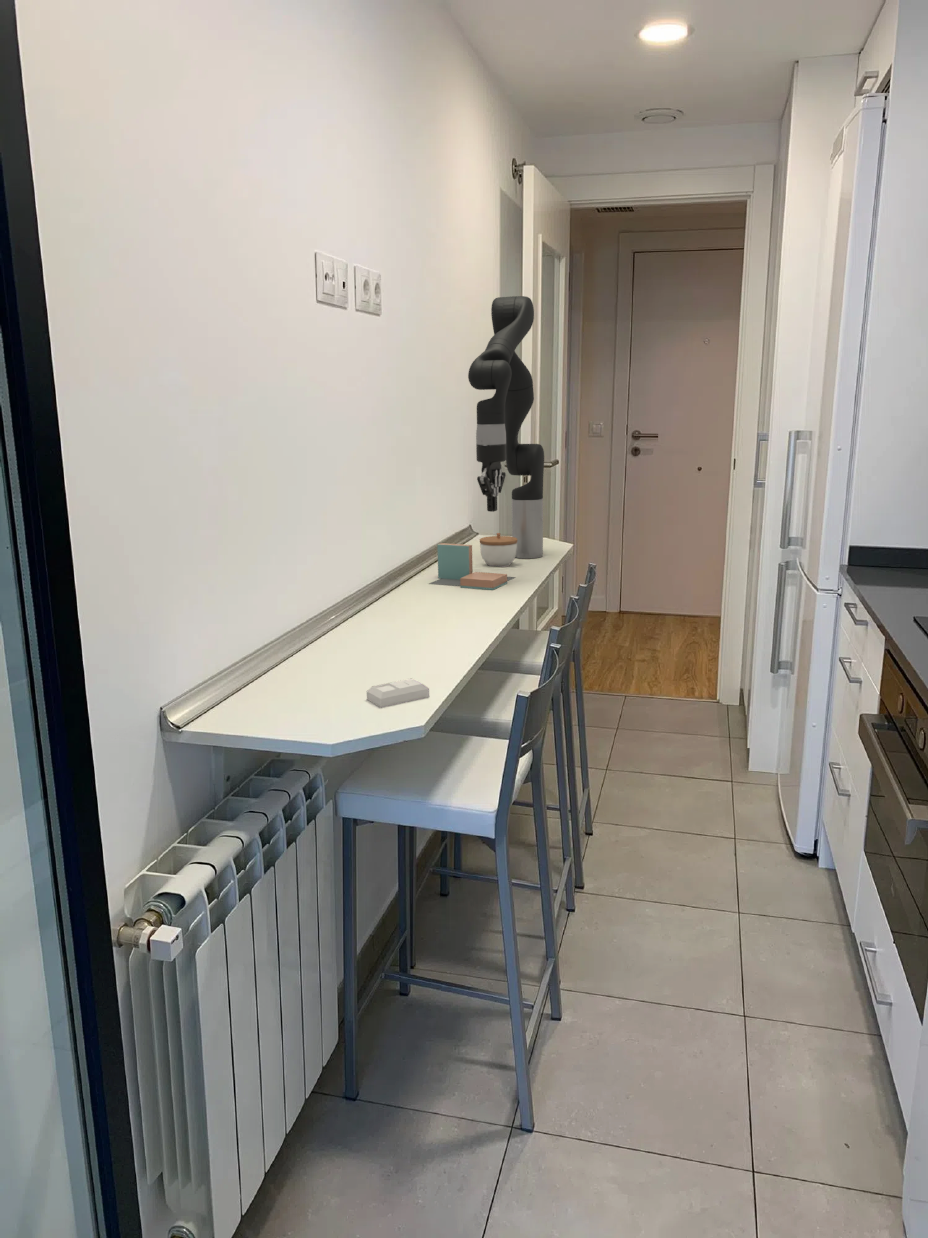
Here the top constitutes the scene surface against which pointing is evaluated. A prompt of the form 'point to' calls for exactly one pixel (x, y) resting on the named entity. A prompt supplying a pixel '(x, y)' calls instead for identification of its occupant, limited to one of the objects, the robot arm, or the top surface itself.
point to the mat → (454, 581)
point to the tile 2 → (483, 580)
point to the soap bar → (397, 692)
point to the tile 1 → (454, 560)
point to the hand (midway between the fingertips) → (492, 511)
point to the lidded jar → (498, 550)
